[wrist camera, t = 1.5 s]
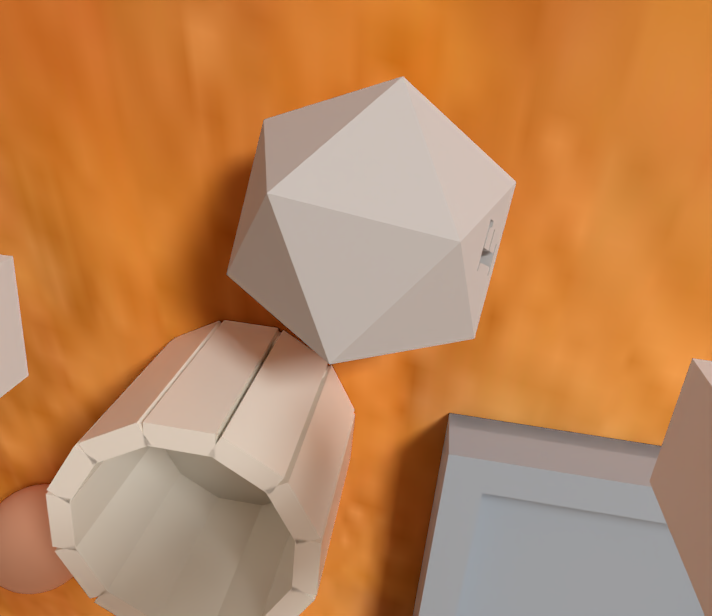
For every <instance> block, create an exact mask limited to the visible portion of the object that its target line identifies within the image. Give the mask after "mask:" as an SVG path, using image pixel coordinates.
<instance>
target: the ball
mask: <svg viewBox="0 0 712 616" xmlns="http://www.w3.org/2000/svg"><path fill="white" fill-rule="evenodd" d="M49 485H50V484H41V485H34V486H30V487H26V488H23V489H21V490H19V491H17V492H15V493H13V494H12V495H10V496H9V497H7V498H6V499H4V500H3V501H2V502H1V503H0V586H2V587H3V588H5V589H7V590H10V591H13V592H16V593H22V594H36V593H42V592H46V591H49V590H52V589H55V588H57V587H59V586H61V585H62V584H64V583H66V582H67V581H68V580H70V579H71V578H72V577H73V575H72V574H71V573H70V571H69V570H68V569H67V567H66V566H65V565H64V563H63V562H62V561H61V559H60V558H59V557H58V555H57V554H56V553H55V550H56V549H57V547H52V539H51V532H50V524H49V516H48V509H47V501H46V493H47V492H48V490H47V488H48V487H49Z"/></svg>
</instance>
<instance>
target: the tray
mask: <svg viewBox="0 0 712 616" xmlns="http://www.w3.org/2000/svg"><path fill="white" fill-rule="evenodd" d="M661 447H662V446H657V445H650V444H644V443H638V442H631V441H625V440H619V439H612V438H606V437H599V436H593V435H587V434H580V433H574V432H567V431H561V430H555V429H548V428H542V427H535V426H529V425H523V424H516V423H510V422H503V421H497V420H491V419H484V418H478V417H471V416H465V415H459V414H452V413H449V418H448V423H447V429H446V434H445V440H444V445H443V451H442V456H441V462H440V467H439V473H438V478H437V484H436V489H435V495H434V501H433V506H432V512H431V517H430V523H429V528H428V534H427V539H426V545H425V550H424V556H423V561H422V567H421V572H420V578H419V583H418V589H417V594H416V600H415V605H414V611H413V616H705V615H704V613H703V610H702V608H701V605H700V603H699V600H698V598H697V596H696V593H695V591H694V588H693V586H692V583H691V581H690V579H689V576H688V574H687V571H686V569H685V566H684V564H683V562H682V559H681V557H680V554H679V552H678V549H677V547H676V545H675V542H674V540H673V537H672V535H671V533H670V530H669V528H668V525H667V523H666V520H665V518H664V516H663V513H662V511H661V508H660V506H659V503H658V501H657V499H656V496H655V494H654V491H653V489H652V486H651V484H650V482H649V481H650V478H651V475H652V472H653V469H654V467H655V464H656V461H657V458H658V455H659V452H660V449H661Z"/></svg>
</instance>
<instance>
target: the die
mask: <svg viewBox="0 0 712 616" xmlns="http://www.w3.org/2000/svg"><path fill="white" fill-rule="evenodd" d="M515 185H516V181H515V180H514V179H512V178H511V177H510V176H509V175H508V174H507V173H506V172H505V171H504V170H503V169H502V168H501V167H500V166H499V165H497V164H496V163H495V162H494V161H493V160H492V159H491V158H490V157H489V156H488V155H487V154H486V153H485V152H483V151H482V150H481V149H480V148H479V147H478V146H477V145H476V144H475V143H474V142H473V141H472V140H471V139H470V138H468V137H467V136H466V135H465V134H464V133H463V132H462V131H461V130H460V129H459V128H458V127H457V126H456V125H455V124H453V123H452V122H451V121H450V120H449V119H448V118H447V117H446V116H445V115H444V114H443V113H442V112H441V111H439V110H438V109H437V108H436V107H435V106H434V105H433V104H432V103H431V102H430V101H429V100H428V99H427V98H426V97H424V96H423V95H422V94H421V93H420V92H419V91H418V90H417V89H416V88H415V87H414V86H413V85H412V84H410V83H409V82H408V81H407V80H406V79H405V78H404V77H399V78H396V79H393V80H390V81H387V82H383V83H380V84H377V85H374V86H370V87H367V88H364V89H361V90H358V91H354V92H351V93H348V94H345V95H341V96H338V97H335V98H332V99H329V100H325V101H322V102H319V103H316V104H312V105H309V106H306V107H303V108H300V109H296V110H293V111H290V112H287V113H284V114H280V115H277V116H274V117H271V118H267V119H264V121H263V125H262V129H261V133H260V137H259V141H258V146H257V150H256V154H255V158H254V162H253V166H252V170H251V175H250V179H249V183H248V187H247V191H246V195H245V199H244V204H243V208H242V212H241V216H240V220H239V224H238V228H237V232H236V237H235V241H234V245H233V249H232V253H231V257H230V261H229V266H228V270H227V274H226V275H227V276H229V277H230V278H231V279H232V280H233V281H234V282H236V283H237V284H238V285H239V286H240V287H241V288H242V289H244V290H245V291H246V292H247V293H248V294H249V295H250V296H252V297H253V298H254V299H255V300H256V301H257V302H258V303H260V304H261V305H262V306H263V307H264V308H265V309H267V310H268V311H269V312H270V313H271V314H272V315H273V316H275V317H276V318H277V319H278V320H279V321H280V322H281V323H283V324H284V325H285V326H286V327H287V328H288V329H290V330H291V331H292V332H293V333H294V334H295V335H296V336H298V337H299V338H300V339H301V340H302V341H303V342H304V343H306V344H307V345H308V346H309V347H310V348H311V349H312V350H314V351H315V352H316V353H317V354H318V355H319V356H321V357H322V358H323V359H324V360H325V361H326V362H327V363H329V364H335V363H340V362H346V361H351V360H357V359H363V358H368V357H374V356H380V355H385V354H391V353H396V352H402V351H408V350H413V349H419V348H425V347H430V346H436V345H441V344H447V343H453V342H458V341H464V340H469V339H474V338H475V334H476V330H477V327H478V323H479V319H480V316H481V312H482V308H483V304H484V301H485V297H486V293H487V290H488V286H489V282H490V278H491V275H492V271H493V267H494V263H495V260H496V256H497V252H498V249H499V245H500V241H501V237H502V234H503V230H504V226H505V223H506V219H507V215H508V211H509V208H510V204H511V200H512V196H513V193H514V189H515Z"/></svg>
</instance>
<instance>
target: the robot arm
mask: <svg viewBox="0 0 712 616" xmlns="http://www.w3.org/2000/svg"><path fill="white" fill-rule="evenodd" d="M27 376H29V375H28V367H27V360H26V352H25V345H24V337H23V330H22V322H21V314H20V307H19V299H18V292H17V284H16V276H15V269H14V261H13V256H7V255H0V398H1V397H2V396H3V395H4V394H6V393H7V392H8V391H9V390H11V389H12V388H13V387H15V386H16V385H17V384H18V383H20V382H21V381H22V380H24V379H25V378H26V377H27ZM649 482H650V484H651V486H652V489H653V491H654V494H655V496H656V499H657V501H658V503H659V506H660V508H661V511H662V513H663V516H664V518H665V520H666V523H667V525H668V528H669V530H670V533H671V535H672V537H673V540H674V542H675V545H676V547H677V549H678V552H679V554H680V557H681V559H682V562H683V564H684V566H685V569H686V571H687V574H688V576H689V579H690V581H691V583H692V586H693V588H694V591H695V593H696V596H697V598H698V600H699V603H700V605H701V608H702V610H703V613H704V615H705V616H712V361H707V360H701V359H694V358H692V361H691V364H690V366H689V369H688V372H687V375H686V378H685V381H684V384H683V386H682V389H681V392H680V395H679V398H678V401H677V404H676V407H675V409H674V412H673V415H672V418H671V421H670V424H669V427H668V429H667V432H666V435H665V438H664V441H663V444H662V447H661V449H660V452H659V455H658V458H657V461H656V464H655V467H654V469H653V472H652V475H651V478H650V481H649Z"/></svg>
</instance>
